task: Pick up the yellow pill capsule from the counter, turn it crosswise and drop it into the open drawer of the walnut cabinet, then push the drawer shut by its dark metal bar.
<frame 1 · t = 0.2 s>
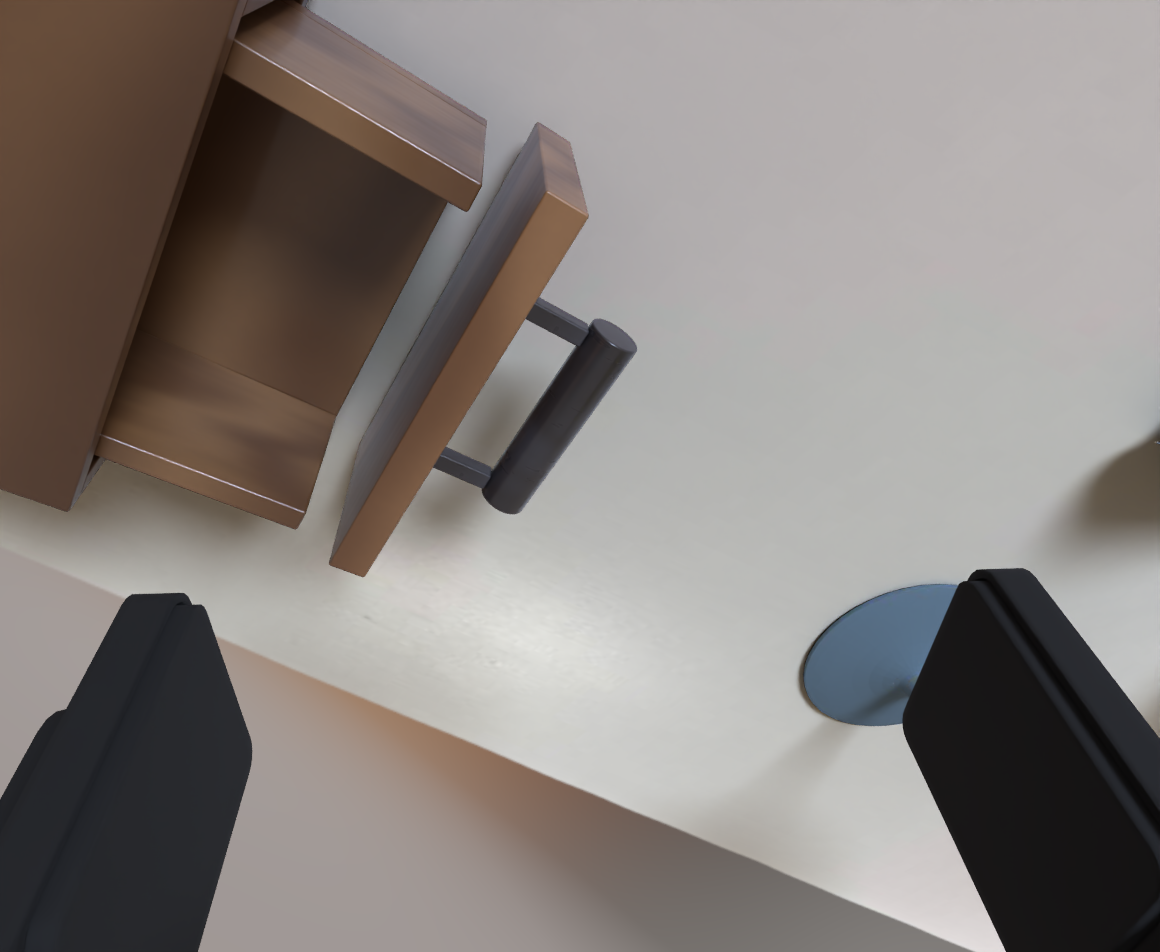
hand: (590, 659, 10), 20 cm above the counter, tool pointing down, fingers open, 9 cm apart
cocktail glass: (903, 654, 42), on the counter
drawer: (284, 275, 23), point 4 cm above the counter, slide at 7.0 cm
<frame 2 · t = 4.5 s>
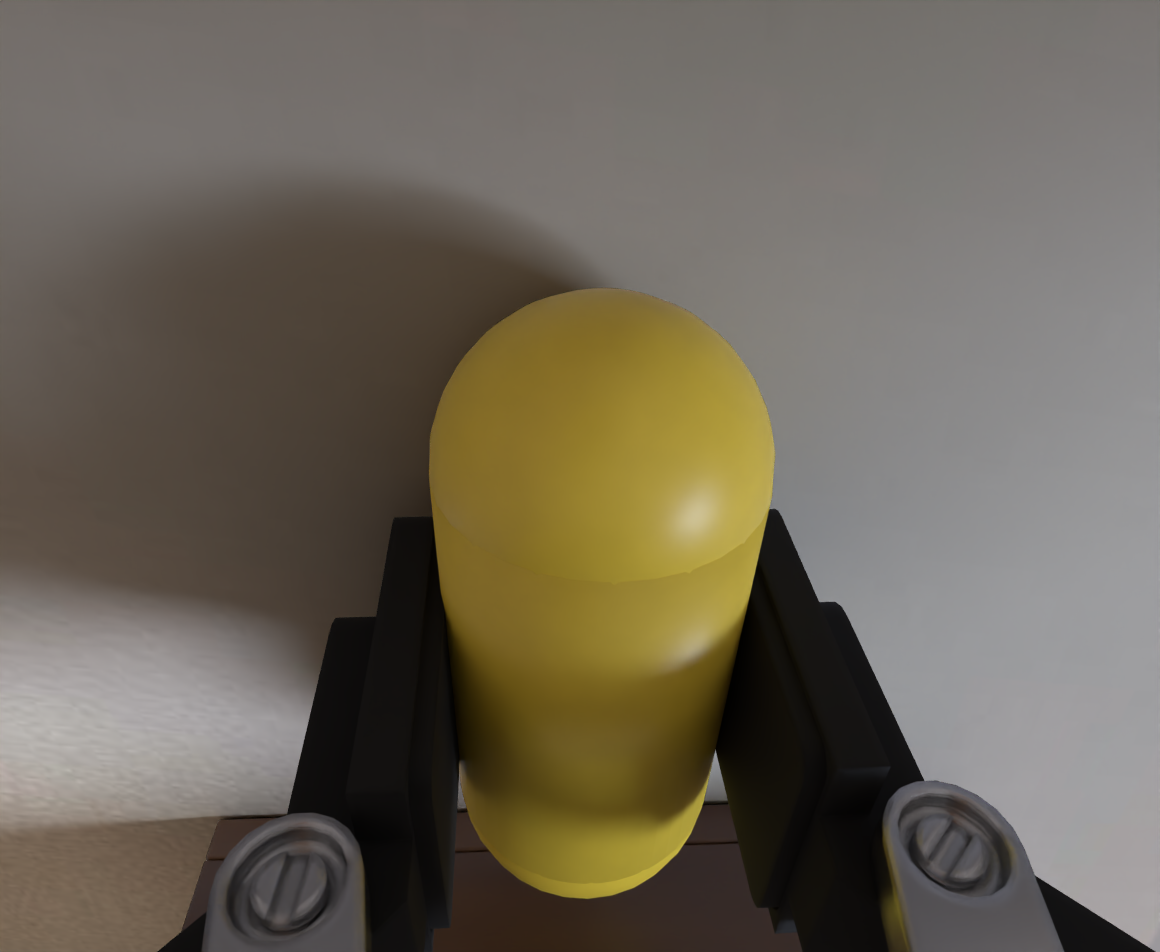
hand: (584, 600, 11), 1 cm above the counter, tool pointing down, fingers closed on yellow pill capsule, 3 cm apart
yellow pill capsule: (654, 553, 11), on the counter, tilted 34°, touching gripper
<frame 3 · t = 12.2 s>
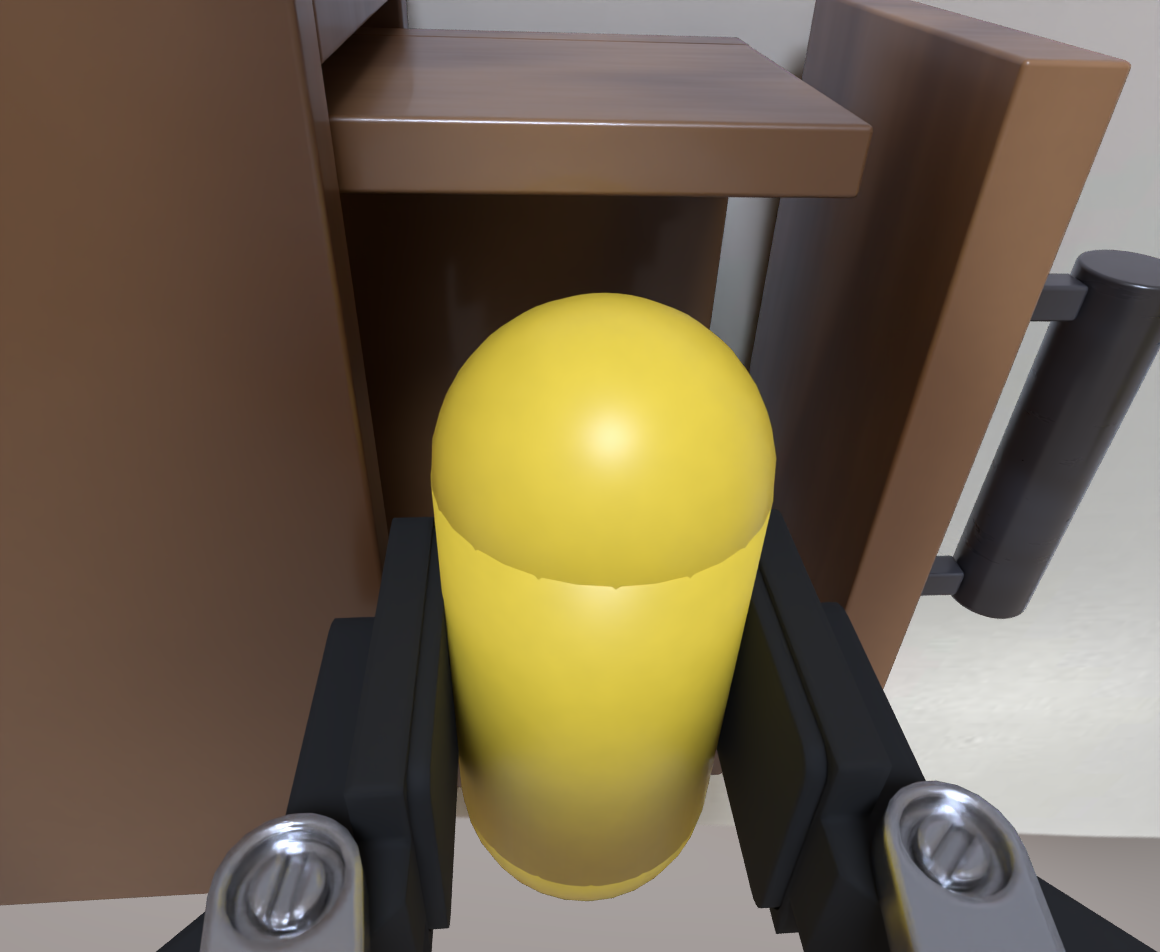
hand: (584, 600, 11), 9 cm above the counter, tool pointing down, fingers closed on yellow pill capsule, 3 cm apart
yellow pill capsule: (655, 557, 11), point 8 cm above the counter, tilted 35°, touching gripper
drawer: (553, 433, 14), point 4 cm above the counter, slide at 7.0 cm
cabinet: (40, 329, 17), on the counter
when the fingers open (10 cm above the counter, at t = 18.5 s): yellow pill capsule drops 7 cm, resting on drawer.
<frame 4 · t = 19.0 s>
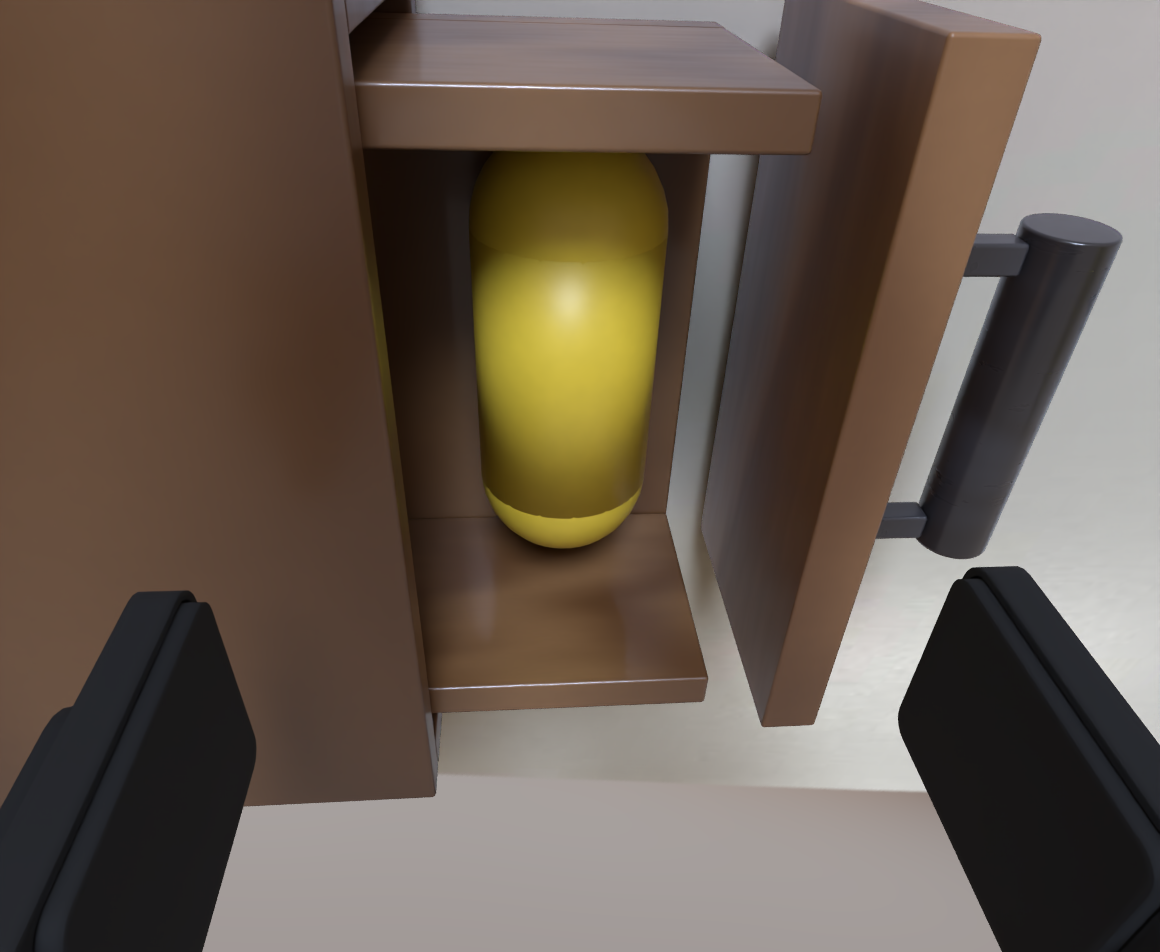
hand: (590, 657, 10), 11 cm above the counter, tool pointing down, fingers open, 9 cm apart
yellow pill capsule: (602, 323, 17), point 2 cm above the counter, tilted 30°, touching drawer
drawer: (548, 384, 16), point 4 cm above the counter, slide at 7.0 cm, touching yellow pill capsule
cabinet: (73, 295, 18), on the counter
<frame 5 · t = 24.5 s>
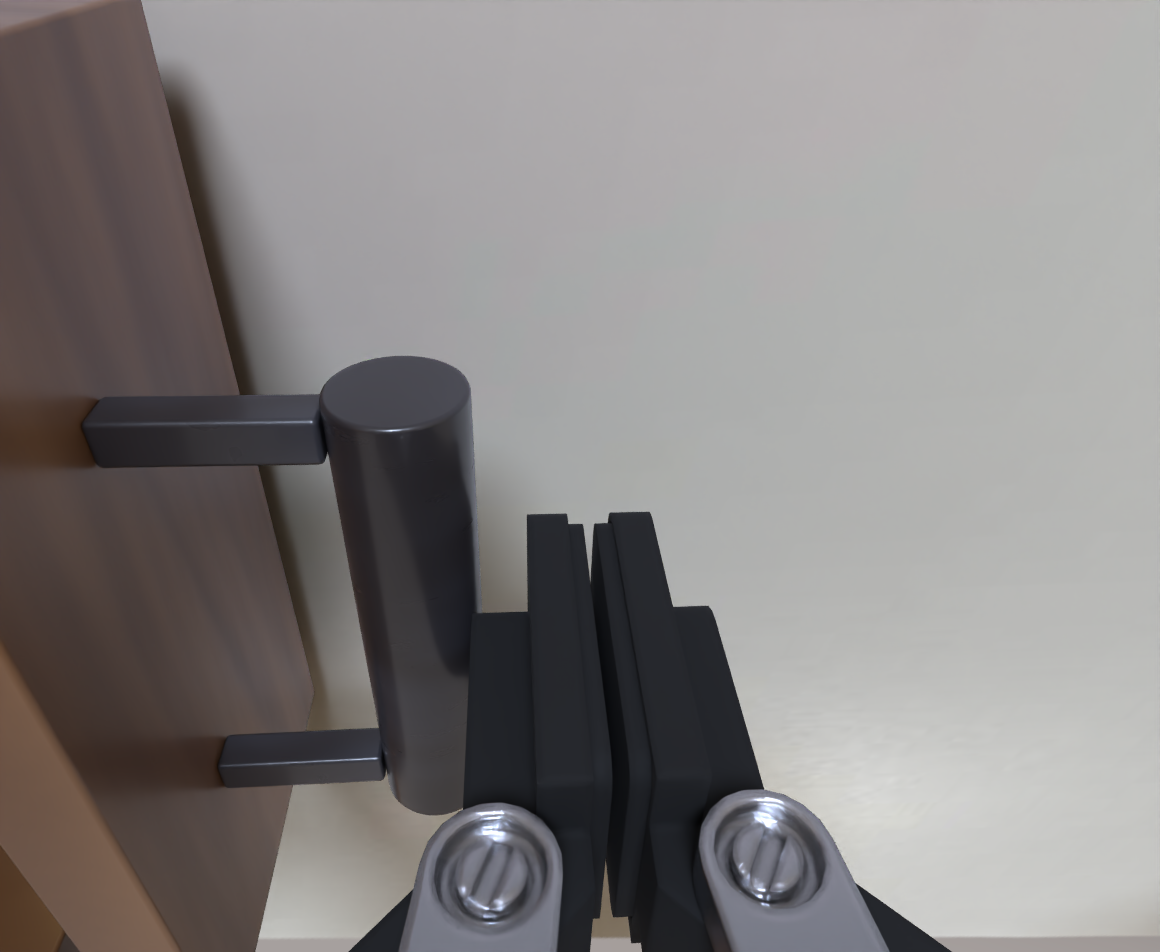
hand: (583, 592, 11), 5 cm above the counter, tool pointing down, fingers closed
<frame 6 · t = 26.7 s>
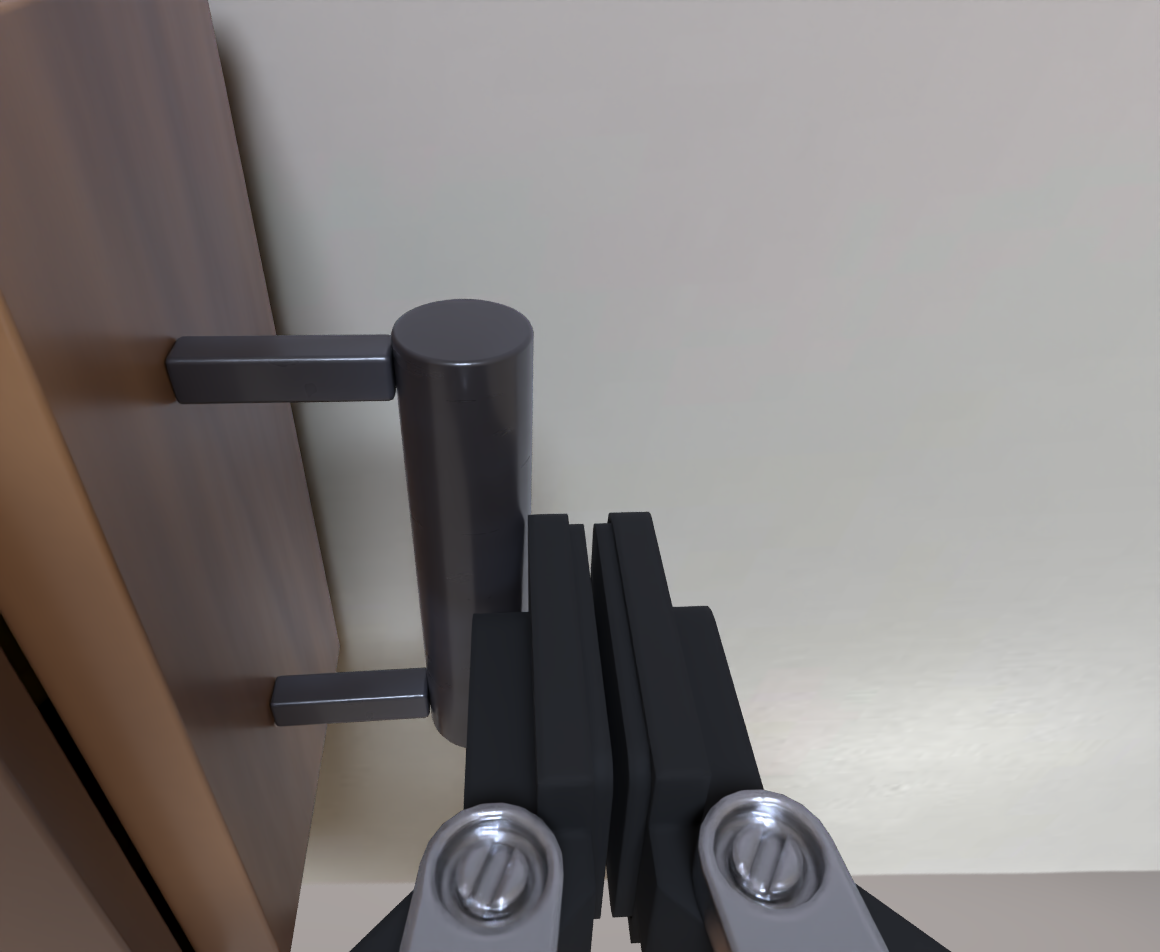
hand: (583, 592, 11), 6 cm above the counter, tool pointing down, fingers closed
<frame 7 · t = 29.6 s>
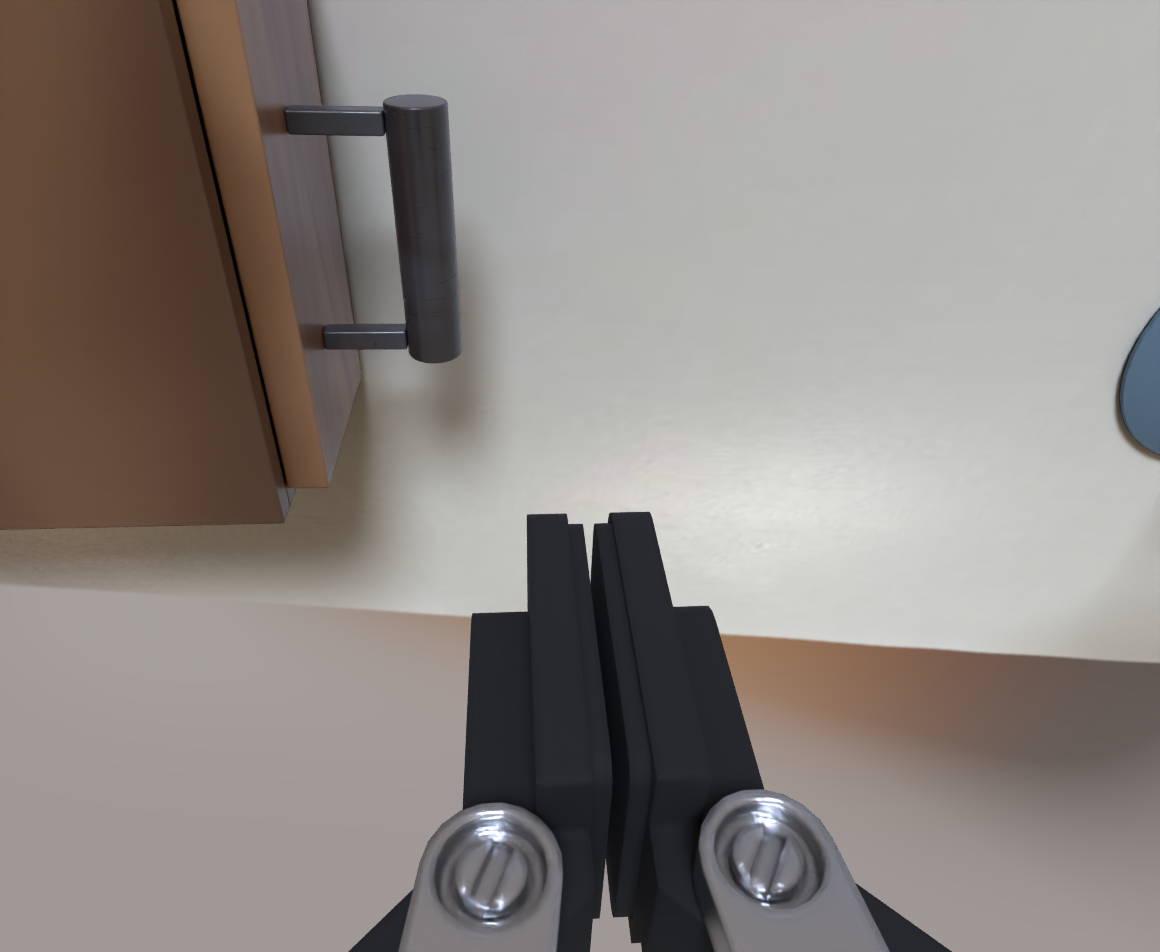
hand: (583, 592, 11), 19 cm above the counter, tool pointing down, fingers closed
drawer: (101, 225, 22), point 4 cm above the counter, slide at 0.0 cm, touching yellow pill capsule, cabinet
cabinet: (32, 177, 25), on the counter
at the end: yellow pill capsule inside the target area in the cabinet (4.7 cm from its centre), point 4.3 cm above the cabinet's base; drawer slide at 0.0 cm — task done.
